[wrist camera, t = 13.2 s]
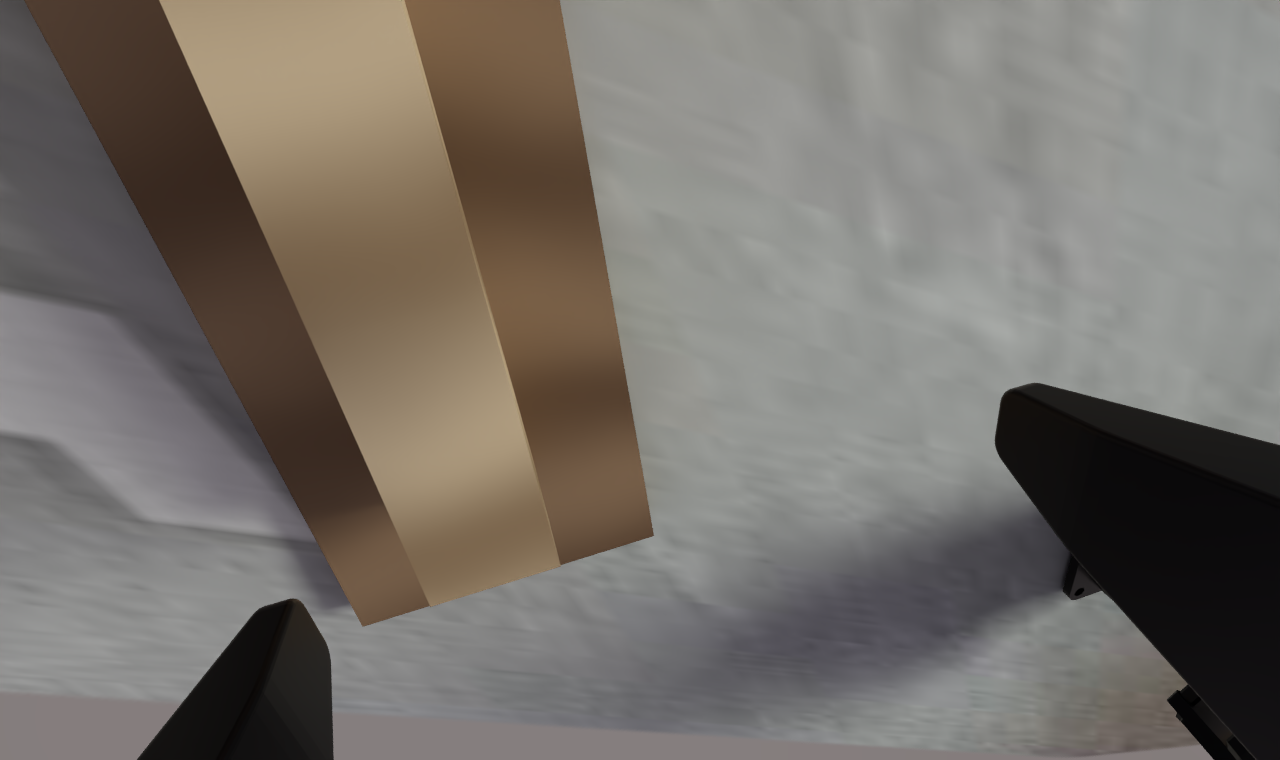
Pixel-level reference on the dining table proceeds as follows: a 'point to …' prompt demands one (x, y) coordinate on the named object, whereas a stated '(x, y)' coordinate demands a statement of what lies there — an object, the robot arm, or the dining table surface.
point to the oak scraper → (378, 268)
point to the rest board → (502, 239)
